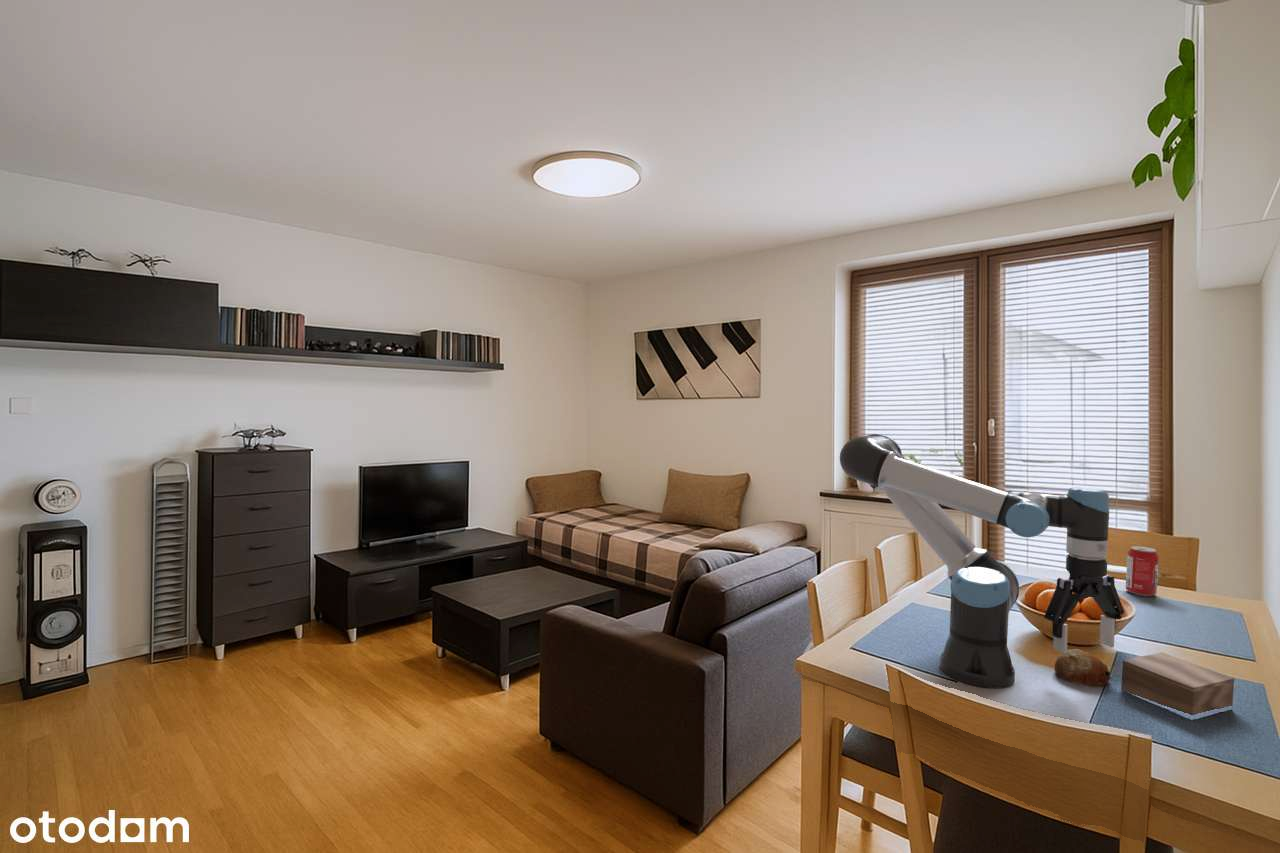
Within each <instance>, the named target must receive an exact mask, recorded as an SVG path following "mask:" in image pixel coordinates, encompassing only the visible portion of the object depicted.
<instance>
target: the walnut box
mask: <svg viewBox="0 0 1280 853" xmlns="http://www.w3.org/2000/svg"><path fill="white" fill-rule="evenodd" d="M1234 686H1235V677H1231V676H1229V675H1226V674H1223V673H1220V672H1218V671H1215V670H1212V669H1209V668H1207V667H1204V666H1200V665H1198V664H1196V663H1192V662H1189V661H1187V660H1184V659H1181V658H1178V657H1176V656H1173V655H1170V654H1168V653H1165V652H1157V653H1152V654H1148V655H1142V656H1139V657H1133V658H1128V659H1123V660H1122V672H1121V688H1120V690H1123V691H1122V692H1124V691H1126V692H1129V693H1131V694H1134V695H1137V696H1140V697H1142V698H1145V699H1148V700H1150V701H1153V702H1156V703H1158V704H1161V705H1164V706H1167V707H1170V708H1173V709H1176V710H1178V711H1182V712H1184V713H1188V714H1190V715H1195V714H1198V713H1202V712H1206V711H1210V710H1214V709H1220V708H1224V707H1228V706H1232V707H1233V702H1234V689H1235V688H1234ZM1126 692H1125V693H1126ZM1131 694H1130V695H1131Z"/></svg>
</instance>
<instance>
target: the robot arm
mask: <svg viewBox="0 0 1280 853" xmlns="http://www.w3.org/2000/svg"><path fill="white" fill-rule="evenodd" d="M839 465H840V466H841V469H842V470H843V471H844V473H845V474H846V475H847V476H849V478H851V479H854V480H856V481H858V482H861V483H865V484H868V485H869V487H870V488H872V489H873V491H875V492H878V493H883V494H884V495H885V496H886V497H887V498H888V499H889V501H890V502H891V503H892V504H893V505H894V507H895V508H897V510H898V511H899V513H900V514H901V515H902V516H903V517H904V518H905V519H906V521H907V522H908V523H909V524H910V525H911V526H912V527H913V528H914V529H915V531H916V532H917V533H918V534H919V535H920V537H921V538H922V539H923V540H924V541H925V542H926V544H927V545H928V546H929V547H930V548H931V549H932V551H934V553H935V554H936V555H937V556H938V558H939V559H940V560H941V561H942V562H943V563H944V564H945V565H946V567H947V575H946V576H947V577H948V578H949V579H950V612H949V613H950V614H949V635H948V638H947V640H946V643H945V646H944V649H943V651H942V652H941V654H940V657H939V659H940V660H939V667H940V670H942V672H943V673H944V674H946V675H947V676H949V677H951V679H955V680H957V681H959V682H962V683H965V684H968V685H971V686H976V687H980V688H981V687H982V688H986V689H987V688H988V689H1001V688H1007V687H1011V686H1012V685H1014V683H1015V680H1016V679H1015V677H1016V676H1015V675H1016V670H1015V667H1014V665H1013V662H1012V658H1011V655H1010V651H1009V648H1008V634H1009V631H1008V629H1009V615H1010V611H1011V610H1012V607H1013V606H1014V605H1015V603H1016V602H1017V601H1018V598H1019V594H1020V583H1019V579H1018V577H1017V575H1016V573H1015V572H1014V570H1012V569H1011V568H1010V567H1009V566H1008V565H1007V564H1005V563H1003V562H1001V561H999V560H997V559H996V558H995V557H994V555H992V554H991V552H990V551H989V550H988V549H986V548H980V547H977V546H976V544H975V543H974V542H972V540H971V539H970V538H969V537H968V536H967V535H966V534H965V532H964V531H963V530H962V529H961V528H960V527H959V526H958V525H957V523H955V522H954V520H953V519H952V518H951V517H950V516H949V514H947V512H946V511H945V510H944V509H943V508H942V507H941V506H945V507H948V508H950V509H953V510H956V511H958V512H962V513H965V514H967V515H970V516H973V517H975V518H979V519H982V520H985V521H987V522H990V523H994V524H996V525H999V526H1001V527H1005V528H1008V529H1009V530H1010V531H1011V532H1013V534H1015V535H1017V536H1019V537H1022V538H1034V537H1037V536H1039V535H1041V534H1043V533H1044V532H1045V531H1046V530H1047V528H1049V527H1050V528H1051V527H1053V528H1058V529H1063V528H1065V529H1066V544H1065V545H1066V546H1065V547H1066V548H1065V551H1066V553H1067V555H1066V557H1065V569H1066V571H1067V572H1068V573H1069V578H1068V579H1065V578H1061V577H1058V578H1057V579H1056V588H1055V590H1054V592H1053V594H1052V597H1051V600H1050V601H1049V603H1048V604H1049V605H1048V607H1047V608H1046V611H1045V614H1044V619H1045V620H1047V621H1050V622H1052V633H1051V635H1052V637H1053V645H1052V648H1053V650H1055V651H1057V652H1059V653H1060V654H1062V653H1064V654H1066V653H1067V650H1068V631H1069V630H1068V629H1069V628H1068V624H1067V623H1066V621H1067V620H1068V619H1069V617H1070V616H1071V614H1072V612H1074V609H1075V608H1076V607H1077V605H1078V604H1079V602H1082V601H1083V600H1084V599H1088V598H1093V600H1094V602H1095V603H1096V605H1098V607H1099V609H1100V610H1101V612H1102V613H1103V614H1104V615H1103V614H1102V615H1100V624H1099V625H1100V628H1099V643H1100V644H1102V645H1104V646H1107V647H1109V648H1115V632H1116V629H1117V628H1116V623H1117V622H1116V621H1117V620H1121V619H1122V618H1123V617H1122V615H1124V614H1125V610H1124V606H1123V604H1122V602H1121V599H1120V596H1119V594H1118V592H1117V588H1116V586H1115V576H1112V575H1109V574H1108V560H1107V559H1106V558H1107V557H1108V543H1109V542H1108V541H1109V540H1108V539H1109V522H1110V521H1109V520H1110V496H1109V495H1110V494H1109V493H1108V492H1107V491H1106V490H1104V489H1101V488H1098V487H1097V488H1095V487H1085V486H1083V487H1082V486H1074V487H1069V489H1068V491H1067V494H1063V495H1062V494H1049V493H1040V492H1039V493H1038V492H1036V493H1035V492H1028V491H1010V492H1007V491H1004V490H1001V489H997V488H995V487H991V486H988V485H985V484H982V483H979V482H975V481H974V480H973V481H972V480H969V479H966V478H963V477H961V476H960V477H959V476H957V475H954V474H950V473H947V472H944V471H942V470H938V469H935V468H932V467H928V466H926V465H922V464H919V463H916V462H913V461H909V460H907V459H906V457H904V456H903V453H902V449H901V446H899V444H898V443H897V441H895V439H893V438H891V437H889V436H888V435H884V434H881V433H880V434H877V433H872V434H868V435H864V436H857V437H854V438H850V439H849V440H848V441H847V442H846V443H845V444H844V445H843V446H842V448H841V450H840V453H839ZM940 505H941V506H940Z"/></svg>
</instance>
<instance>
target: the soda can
mask: <svg viewBox="0 0 1280 853" xmlns="http://www.w3.org/2000/svg"><path fill="white" fill-rule="evenodd" d="M1159 560H1160V556H1159V553H1157V550H1156V549H1155V548H1151V547H1147V546H1134V545H1133V546H1130V549H1129V550H1127V557H1126V575H1125V590H1126V591H1127V592H1129V594H1133V595H1136V596H1140V597H1153V596H1156V595H1157V593H1158V578H1159V576H1158V574H1159Z"/></svg>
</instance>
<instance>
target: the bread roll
mask: <svg viewBox="0 0 1280 853" xmlns="http://www.w3.org/2000/svg"><path fill="white" fill-rule="evenodd" d="M1054 671H1055V673H1056V675H1057V676H1058V677H1059V678H1061V679H1062V680H1064V681H1067V682H1070V683H1072V684H1076V685H1080V686H1085V687H1086V686H1087V687H1093V688H1094V687H1095V688H1096V687H1097V688H1100V687H1104V686H1106V685H1107V684H1108V683H1109V681H1110V679H1111V676H1110V675H1111V673H1110V670H1109V668H1108V665H1107V664H1105V663H1104V662H1103V660H1100V658H1098V657H1096V656H1095V655H1093V654H1091V653H1089V652H1087V651H1083V650H1082V649H1078V648H1073V649H1067V653H1066V654H1064V653H1060V654H1059V655H1058V657H1057V658H1056V661H1055V663H1054Z"/></svg>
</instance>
